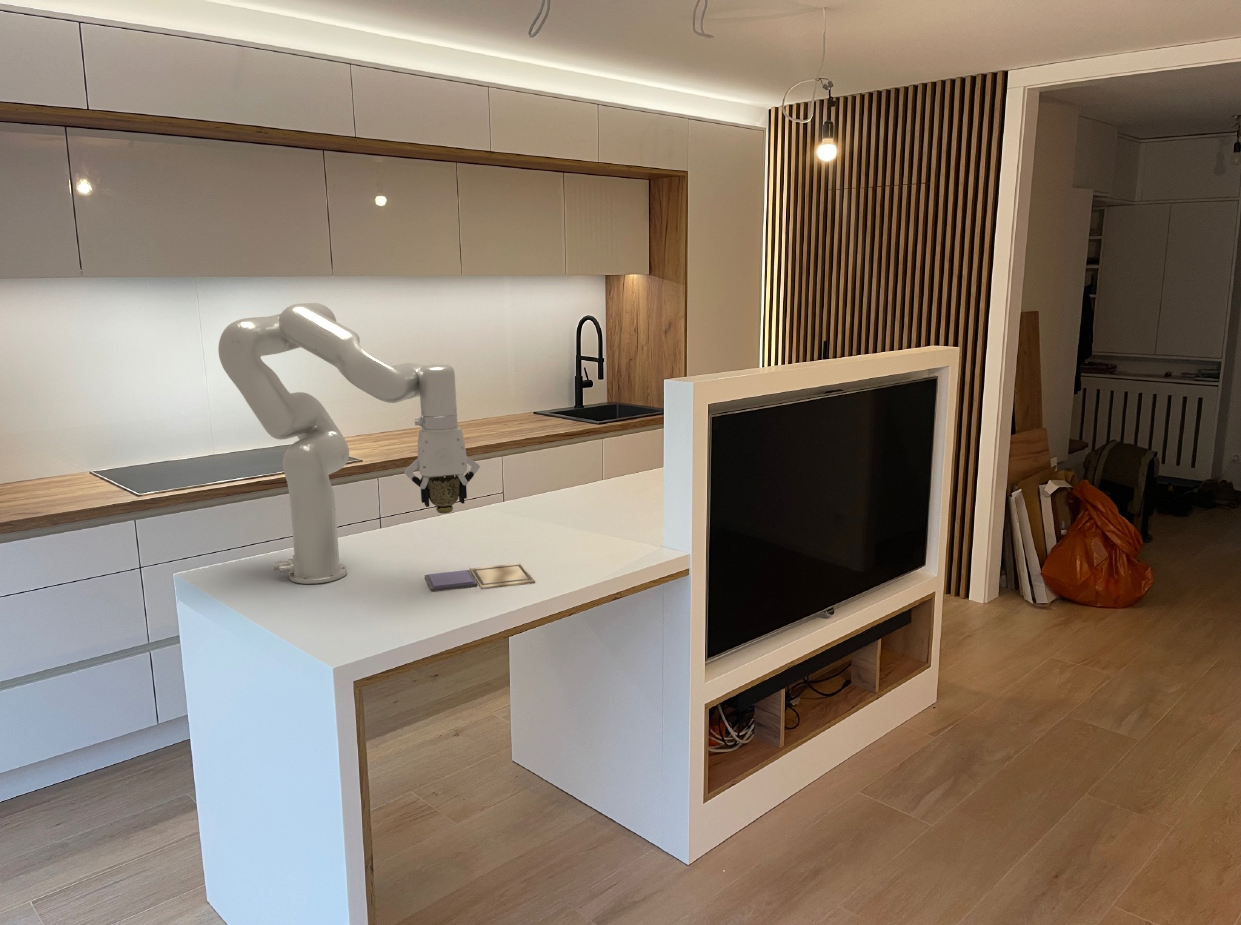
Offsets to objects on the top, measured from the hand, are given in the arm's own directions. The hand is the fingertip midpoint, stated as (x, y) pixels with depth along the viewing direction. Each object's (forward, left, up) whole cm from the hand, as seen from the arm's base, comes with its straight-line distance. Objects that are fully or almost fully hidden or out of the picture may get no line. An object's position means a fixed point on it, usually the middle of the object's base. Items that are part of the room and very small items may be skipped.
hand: (444, 503), depth 202 cm
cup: (0, 0, -2) cm, 2 cm away
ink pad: (+1, 0, -18) cm, 18 cm away
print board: (+12, 0, -18) cm, 22 cm away
